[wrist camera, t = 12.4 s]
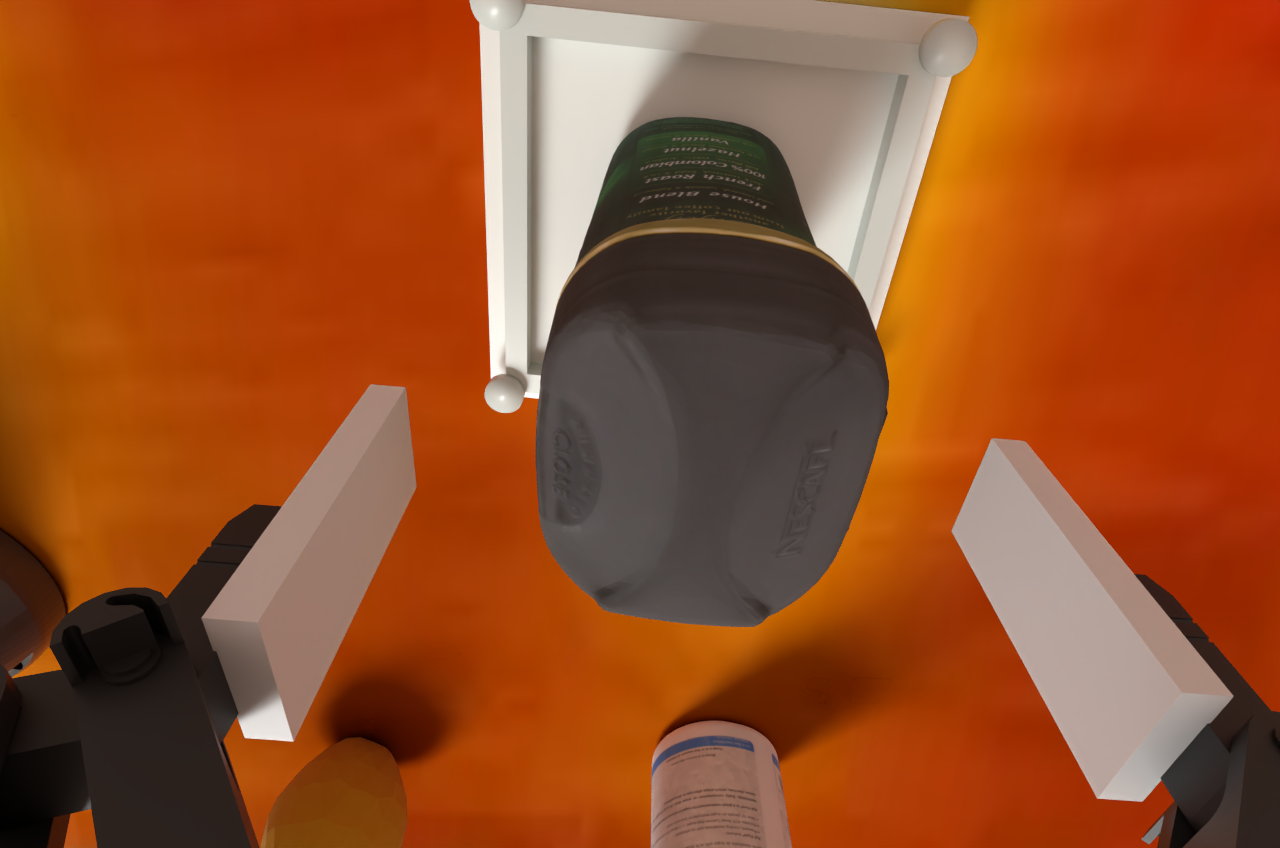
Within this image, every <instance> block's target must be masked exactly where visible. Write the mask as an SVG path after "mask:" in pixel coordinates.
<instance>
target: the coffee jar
mask: <svg viewBox="0 0 1280 848" xmlns="http://www.w3.org/2000/svg"><path fill="white" fill-rule="evenodd" d="M888 394H889V380H888V373H887V367H886V362H885V357H884V353H883V350H882V348H881V345H880V343H879V340H878V337H877V334H876V330H875V327H874V324H873V322H872V319H871V316H870V313H869V310H868V308H867V305H866V303H865V301H864V299H863V297H862V295H861V293H860V291H859V289H858V287H857V286H856V284H855V282H854V281H853V280H852V278H851V277H850V276H849V275H848V274H847V272H846V271H845V270H844V269H843V268H842V267H841V266H840V265H839V264H838V263H837V262H836V261H835V260H834V259H833V258H832V257H830V256H829V255H828V254H826V253H825V252H824V251H822V250H821V249H819V248H818V247H817V246H816V244H815V241H814V238H813V236H812V234H811V231H810V228H809V226H808V223H807V220H806V218H805V215H804V212H803V209H802V206H801V203H800V200H799V196H798V193H797V190H796V187H795V183H794V180H793V178H792V175H791V173H790V170H789V168H788V165H787V163H786V161H785V159H784V157H783V155H782V153H781V152H780V150H779V149H778V147H777V146H776V145H775V144H774V143H773V142H772V141H771V140H770V139H769V138H768V137H766V136H765V135H764V134H762V133H761V132H759V131H757V130H755V129H753V128H750V127H747V126H744V125H741V124H737V123H733V122H727V121H720V120H714V119H708V118H696V117H672V118H663V119H658V120H653V121H650V122H647V123H645V124H643V125H641V126H639V127H638V128H636V129H635V130H633V131H632V132H631V133H629V134H628V135H627V136H626V137H625V138H624V139H623V140H622V142H621V143H620V144H619V146H618V147H617V149H616V151H615V152H614V154H613V156H612V159H611V161H610V164H609V166H608V169H607V172H606V175H605V178H604V181H603V184H602V187H601V191H600V194H599V197H598V201H597V204H596V207H595V210H594V213H593V216H592V219H591V222H590V225H589V227H588V230H587V233H586V236H585V239H584V241H583V244H582V248H581V250H580V252H579V256H578V259H577V262H576V265H575V268H574V270H573V271H572V272H571V274H570V275H569V277H568V279H567V281H566V283H565V285H564V286H563V288H562V291H561V293H560V296H559V299H558V302H557V305H556V309H555V314H554V318H553V322H552V326H551V330H550V334H549V338H548V342H547V346H546V351H545V355H544V360H543V365H542V371H541V379H540V392H539V402H538V410H537V427H536V471H537V491H538V502H539V516H540V524H541V528H542V531H543V535H544V538H545V541H546V543H547V546H548V548H549V550H550V551H551V553H552V555H553V557H554V558H555V560H556V561H557V563H558V564H559V565H560V567H561V568H562V569H563V570H564V572H565V573H566V574H567V575H568V576H569V577H570V578H571V579H572V580H573V581H574V582H575V583H576V584H577V585H578V586H579V587H580V588H581V589H582V590H583V591H584V592H585V593H587V594H588V595H590V596H591V597H592V598H594V599H595V601H596V602H597V603H598V605H599V606H600V607H601V608H602V609H603V610H606V611H608V612H613V613H618V614H624V615H629V616H635V617H642V618H648V619H655V620H662V621H669V622H677V623H686V624H698V625H712V626H731V627H754V626H756V625H758V624H760V623H762V622H763V621H764V620H765V619H766V618H767V617H768V616H770V615H772V614H775V613H777V612H779V611H780V610H782V609H783V608H785V607H786V606H788V605H790V604H791V603H793V602H794V601H796V600H797V599H799V598H800V597H801V596H802V595H803V594H805V593H806V592H807V591H808V590H809V589H810V588H811V587H812V586H813V585H815V584H816V583H817V582H818V581H819V579H820V578H821V577H822V576H823V574H824V573H825V572H826V571H827V569H828V568H829V566H830V565H831V563H832V562H833V560H834V558H835V557H836V555H837V552H838V550H839V548H840V546H841V544H842V542H843V539H844V537H845V535H846V532H847V531H848V529H849V526H850V523H851V520H852V518H853V515H854V513H855V510H856V507H857V505H858V502H859V500H860V497H861V494H862V491H863V488H864V485H865V482H866V479H867V476H868V473H869V470H870V467H871V464H872V460H873V457H874V454H875V450H876V447H877V442H878V439H879V436H880V433H881V430H882V428H883V425H884V422H885V420H886V417H887V414H888V412H887V408H886V406H887V401H888Z"/></svg>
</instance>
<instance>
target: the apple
mask: <svg viewBox="0 0 1280 848" xmlns="http://www.w3.org/2000/svg"><path fill="white" fill-rule="evenodd" d="M406 825H407V801H406V794H405V790H404V786H403V783H402V779H401V775H400V772H399V768H398V766H397V764H396V762H395V760H394V757H393V755H392V754H391V752H390V751H389V750H388V749H387V748H386V747H384V746H382V745H380V744H377V743H375V742H373V741H370V740H367V739H364V738H361V737H354V738H346V739H344V740H342V741H340V742H338V743H335V744H333V745H331V746H330V747H328V748H327V749H326V750H325V751H323V752H322V753H321V754H320V755H318V756H317V757H316V758H315V759H313V760H312V761H311V762H309V763H308V764H307V765H306V766H305V767H304V768H303V769H302V770H301V771H300V772H299V773H298V774H297V775H296V776H295V777H294V779H293V780H292V781H291V782H290V783H289V785H288V786H287V787H286V788H285V789H284V791H283V792H282V793H281V794H280V795H279V797H278V798H277V800H276V802H275V804H274V806H273V808H272V810H271V812H270V814H269V817H268V820H267V824H266V827H265V831H264V834H263V838H262V842H261V848H401V847H402V843H403V839H404V834H405V830H406Z"/></svg>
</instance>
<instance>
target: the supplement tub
mask: <svg viewBox="0 0 1280 848" xmlns="http://www.w3.org/2000/svg"><path fill="white" fill-rule="evenodd" d="M651 848H792V845H791V839H790V832H789V826H788V819H787V813H786V806H785V800H784V793H783V786H782V780H781V773H780V768H779V762H778V756H777V753H776V750H775V748H774V747H773V745H772V744H771V742H770V741H769V740H768V739H767V738H766V737H765V736H763V735H762V734H761V733H759V732H758V731H756V730H754V729H752V728H750V727H747V726H744V725H741V724H736V723H732V722H726V721H701V722H696V723H692V724H688V725H686V726H683V727H680V728H678V729H676V730H674V731H673V732H671V733H669V734H668V735H667V736H666V737H664V738H663V739H662V741H661V742H660V743H659V744H658V746H657V747H656V749H655V752H654V755H653V759H652V803H651Z"/></svg>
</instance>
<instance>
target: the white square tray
mask: <svg viewBox="0 0 1280 848" xmlns="http://www.w3.org/2000/svg"><path fill="white" fill-rule="evenodd" d="M470 6H471V9H472V12H473V14H474V16H475V17H476V19H477V20H478V21H479V22H480V51H481V82H482V113H483V144H484V175H485V207H486V238H487V269H488V300H489V331H490V363H491V380H490V381H489V383H488V385H487V387H486V390H485V399H486V402H487V403H488V405H489V406H490V407H491V408H492V409H494V410H496V411H498V412H501V413H510V412H514V411H516V410H517V409H518V408H519V407H520V406H521V404H522V401H523V399H524V397H529V398H539V392H540V379H541V371H542V365H543V360H544V355H545V351H546V346H547V342H548V338H549V334H550V330H551V326H552V322H553V318H554V314H555V309H556V305H557V302H558V299H559V296H560V293H561V291H562V288H563V286H564V285H565V283H566V281H567V279H568V277H569V275H570V274H571V272H572V271H573V270H574V268H575V265H576V262H577V259H578V256H579V252H580V250H581V248H582V244H583V241H584V239H585V236H586V233H587V230H588V227H589V225H590V222H591V219H592V216H593V213H594V210H595V207H596V204H597V201H598V197H599V194H600V191H601V187H602V184H603V181H604V178H605V175H606V172H607V169H608V166H609V164H610V161H611V159H612V156H613V154H614V152H615V151H616V149H617V147H618V146H619V144H620V143H621V142H622V140H623V139H624V138H625V137H626V136H627V135H628V134H629V133H631V132H632V131H633V130H635V129H636V128H638V127H639V126H641V125H643V124H645V123H647V122H650V121H653V120H658V119H663V118H672V117H696V118H708V119H714V120H720V121H727V122H733V123H737V124H741V125H744V126H747V127H750V128H753V129H755V130H757V131H759V132H761V133H762V134H764V135H765V136H766V137H768V138H769V139H770V140H771V141H772V142H773V143H774V144H775V145H776V146H777V147H778V149H779V150H780V152H781V153H782V155H783V157H784V159H785V161H786V163H787V165H788V168H789V170H790V173H791V175H792V178H793V180H794V183H795V187H796V190H797V193H798V196H799V200H800V203H801V206H802V209H803V212H804V215H805V218H806V220H807V223H808V226H809V228H810V231H811V234H812V236H813V238H814V241H815V244H816V246H817V247H818V248H819V249H821V250H822V251H824V252H825V253H826V254H828V255H829V256H830V257H832V258H833V259H834V260H835V261H836V262H837V263H838V264H839V265H840V266H841V267H842V268H843V269H844V270H845V271H846V272H847V274H848V275H849V276H850V277H851V278H852V280H853V281H854V282H855V284H856V286H857V287H858V289H859V291H860V293H861V295H862V297H863V299H864V301H865V303H866V305H867V308H868V310H869V313H870V316H871V319H872V322H873V324H874V327H875V330H876V329H877V325H878V322H879V319H880V315H881V312H882V309H883V305H884V302H885V298H886V295H887V292H888V288H889V285H890V282H891V278H892V275H893V272H894V268H895V265H896V262H897V258H898V255H899V252H900V248H901V245H902V242H903V238H904V235H905V232H906V228H907V225H908V222H909V218H910V215H911V212H912V208H913V205H914V201H915V198H916V195H917V191H918V188H919V185H920V181H921V178H922V175H923V171H924V168H925V165H926V161H927V158H928V155H929V151H930V148H931V145H932V141H933V138H934V135H935V131H936V128H937V125H938V121H939V118H940V114H941V111H942V108H943V104H944V101H945V98H946V94H947V91H948V88H949V84H950V81H951V78H952V76H953V75H956V74H958V73H959V72H961V71H962V70H964V69H965V68H966V67H967V66H968V65H969V63H970V62H971V60H972V59H973V57H974V55H975V52H976V48H977V35H976V32H975V29H974V28H973V26H972V25H971V24H970V23H969V22H968V21H969V17H968V16H959V15H949V14H940V13H930V12H921V11H911V10H902V9H892V8H883V7H873V6H864V5H854V4H845V3H835V2H826V1H816V0H470Z"/></svg>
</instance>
